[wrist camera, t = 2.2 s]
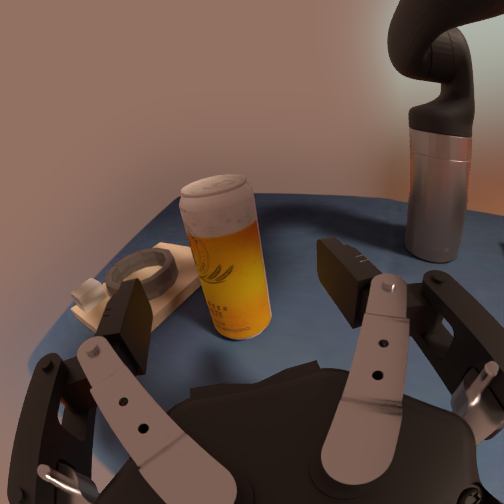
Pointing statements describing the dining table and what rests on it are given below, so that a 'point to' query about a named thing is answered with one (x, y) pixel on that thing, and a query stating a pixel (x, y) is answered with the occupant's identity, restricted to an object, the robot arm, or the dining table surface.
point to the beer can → (228, 253)
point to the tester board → (161, 302)
